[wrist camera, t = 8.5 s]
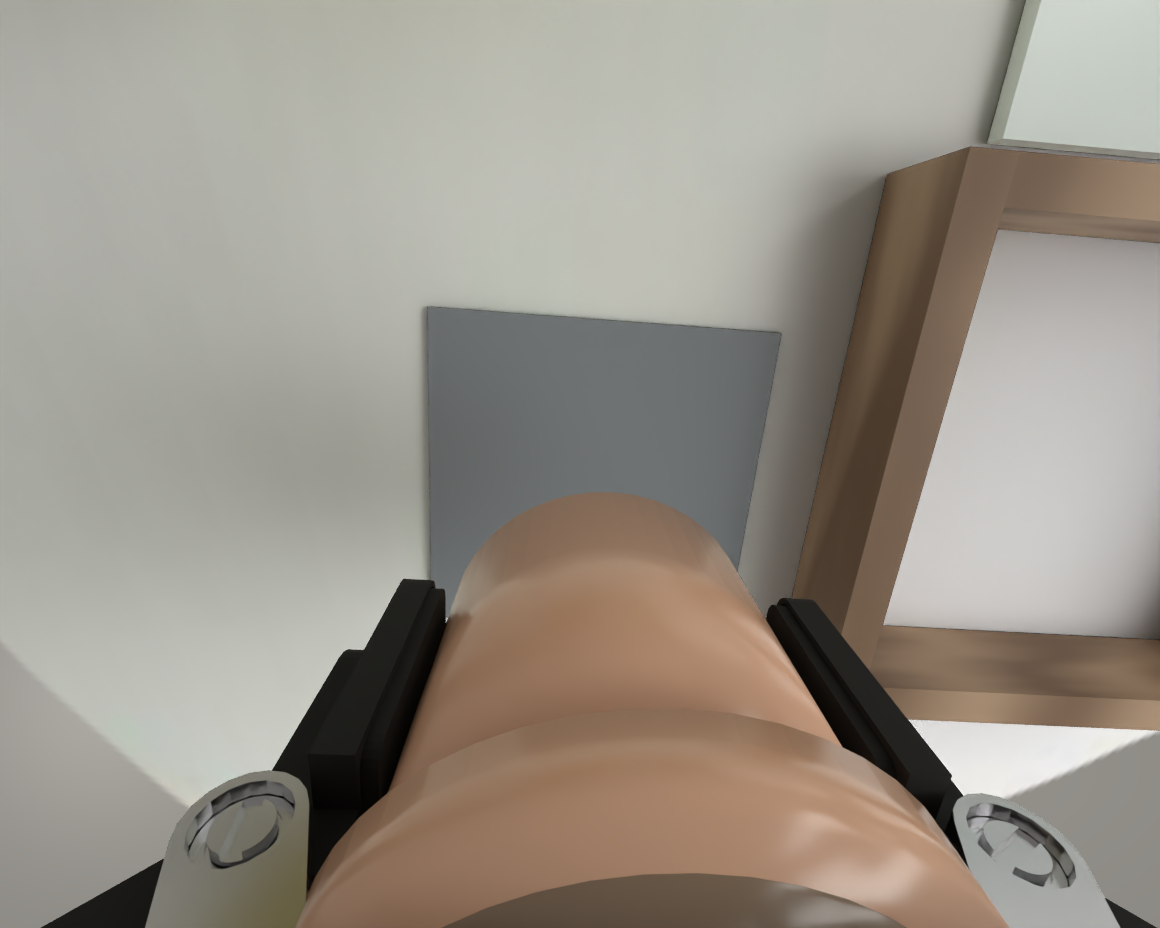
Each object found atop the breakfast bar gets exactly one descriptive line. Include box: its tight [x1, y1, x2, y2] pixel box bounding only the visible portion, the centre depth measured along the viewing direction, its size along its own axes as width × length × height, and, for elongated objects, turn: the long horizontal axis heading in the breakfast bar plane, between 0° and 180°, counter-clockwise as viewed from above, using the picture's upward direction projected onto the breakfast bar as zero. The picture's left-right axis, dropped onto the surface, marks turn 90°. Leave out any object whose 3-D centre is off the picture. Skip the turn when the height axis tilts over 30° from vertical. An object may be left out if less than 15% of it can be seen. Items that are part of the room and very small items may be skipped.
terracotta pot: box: [295, 492, 1010, 928], centre depth 8 cm, size 7×7×7 cm
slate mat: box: [427, 307, 781, 618], centre depth 19 cm, size 11×11×1 cm
